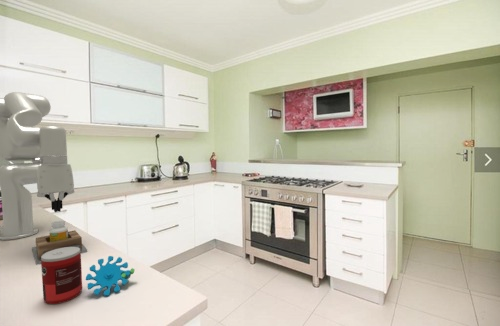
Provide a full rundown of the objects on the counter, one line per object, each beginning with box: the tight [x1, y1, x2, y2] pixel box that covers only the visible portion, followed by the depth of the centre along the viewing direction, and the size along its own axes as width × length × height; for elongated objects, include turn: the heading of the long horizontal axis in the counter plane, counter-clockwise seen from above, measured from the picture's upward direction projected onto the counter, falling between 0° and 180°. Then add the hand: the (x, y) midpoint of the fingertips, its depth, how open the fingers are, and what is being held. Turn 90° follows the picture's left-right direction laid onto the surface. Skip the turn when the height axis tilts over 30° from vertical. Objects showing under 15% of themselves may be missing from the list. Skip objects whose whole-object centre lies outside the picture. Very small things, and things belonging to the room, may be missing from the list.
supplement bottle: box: [48, 220, 69, 242], centre depth 90 cm, size 5×5×10 cm
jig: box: [35, 229, 83, 258], centre depth 90 cm, size 12×12×4 cm
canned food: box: [40, 247, 83, 305], centre depth 61 cm, size 8×8×11 cm
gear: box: [85, 255, 135, 297], centre depth 65 cm, size 11×6×10 cm
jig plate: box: [31, 243, 88, 265], centre depth 90 cm, size 18×14×3 cm
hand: (57, 211), depth 90 cm, fingers closed
